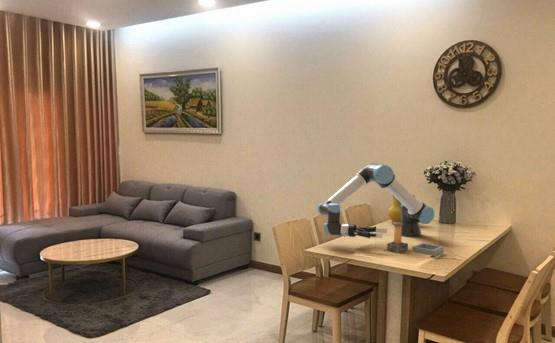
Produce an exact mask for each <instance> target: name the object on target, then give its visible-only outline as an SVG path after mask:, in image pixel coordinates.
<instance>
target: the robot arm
mask: <svg viewBox="0 0 555 343" xmlns="http://www.w3.org/2000/svg"><path fill="white" fill-rule="evenodd" d="M371 182H374V183H376V184H377V185H378V186H379V187H380V188H381V189H386V190H387V191H388V192H389V193H390V194H391V196H392V197H393V196H394V197H395V198H396V199H397V200H399V201H400V202H401V203H402V204H401V223H403V225H402V226H401V237H402V236H403V237H413V238H414V237H420V236H422V230H421V227H420V224H422V225H428V224H430V223H432V222H433V221H434V219H435V210H434V208H433V207H432V206H428V205H427V204H426V203H424V202H423V201H422V200H421V199H417V197H416V196H415V195H414V194H412V193H411V192H409V190H408V189H406V187H405V186H403V185H402V183H400V182H399V181H398V180H397V179H396V175H395V174H394V170H393V168H392V167H391V166H390V165H388V164H382V163H375V162H374V163H373V162H372V163H369V164H367V165H365V166H363V167H362V168H361V169H360V170H358V171H357V172H356V173H355V176H354V177H353V178H352V179H350V180H349V181H348V182H346V184H344V185H343V186H342V187H341V188H340V189H339V190H337V192H335V193H334V194H333V195H332V196H331V197H330V198H328V199H326V200H325V202H320V203H319V204H317V208H316V210H317V212H318V213H319V214H320V215H321V216H325V217H327V222H325V223H324V225H323V233H324V234H325V235H330V236H338V237H339V236H341V237H344V238H346V237H349V238H353V237H354V238H355V237H356V236H359V237H363V238H366V239H371V238H376V239H377V238H378V239H383V234H387V233H388V229H387V228H382V227H378V228H377V226H376V225H375V226H359V227H357V225H356V224H355V223H354V224H351V223H350V224H349V223H341V205H342V204H343V203H344V202H345V201H346V200H348V198H349V197H351V196H352V195H353V194H354V193H356V192H357V191H359V189H360V188H362V187H363V186H366V185H368V183H371ZM413 195H414V196H415V197H414V196H413ZM419 223H420V224H419Z"/></svg>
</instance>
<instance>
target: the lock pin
mask: <svg viewBox="0 0 555 343" xmlns="http://www.w3.org/2000/svg"><path fill="white" fill-rule="evenodd" d="M402 225H403V223H401V222H393V224H392V226H394V228H393V229H394V231H393V241H394V244H396V245H401V242H402V235H401V226H402Z"/></svg>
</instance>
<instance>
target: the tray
mask: <svg viewBox="0 0 555 343" xmlns="http://www.w3.org/2000/svg"><path fill="white" fill-rule="evenodd" d="M411 247H412V249H411V252H414V253H420V254H426V255H431V256H429V258H432V257H433V259H434V258H437V257H439V256H441V255H443V254H444V252H445V251H444V246H443V245H437V244H436V245H435V244H431V243H424V242H420V243H418V244H416V245H413V246H411Z"/></svg>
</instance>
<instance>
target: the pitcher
mask: <svg viewBox="0 0 555 343" xmlns="http://www.w3.org/2000/svg"><path fill="white" fill-rule="evenodd" d="M412 195H413V196H414V197H415V198H416V196H415V194H412ZM401 204H402V203H401V202H400V201H399V200H397V199H396V198H395V197H394V196H393V195H392V204H391V206H390V207H389V209H388V212H387V214H388V216H389V220H390V221H391V223H392V225H393V222H401Z"/></svg>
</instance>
